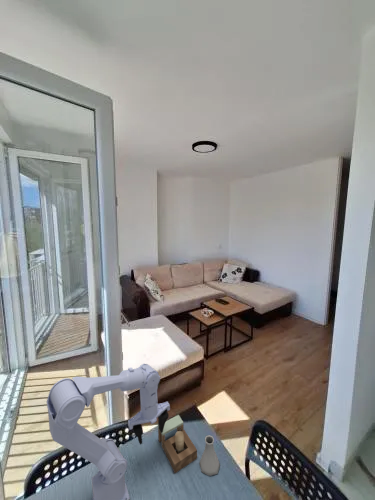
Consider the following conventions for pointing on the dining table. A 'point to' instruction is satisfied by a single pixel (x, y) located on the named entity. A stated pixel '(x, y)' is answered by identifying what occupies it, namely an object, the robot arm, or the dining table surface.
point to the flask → (209, 458)
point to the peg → (179, 442)
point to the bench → (170, 427)
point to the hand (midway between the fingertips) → (150, 435)
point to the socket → (183, 457)
